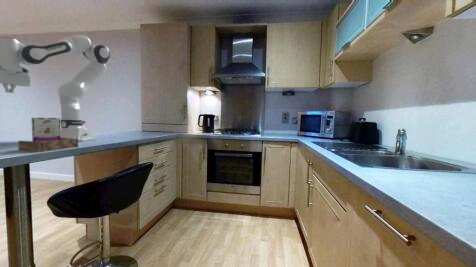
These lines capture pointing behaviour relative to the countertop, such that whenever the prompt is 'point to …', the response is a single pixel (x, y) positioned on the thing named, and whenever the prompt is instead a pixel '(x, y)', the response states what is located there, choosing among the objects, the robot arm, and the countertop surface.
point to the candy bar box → (45, 129)
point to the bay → (48, 145)
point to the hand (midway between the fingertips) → (9, 92)
